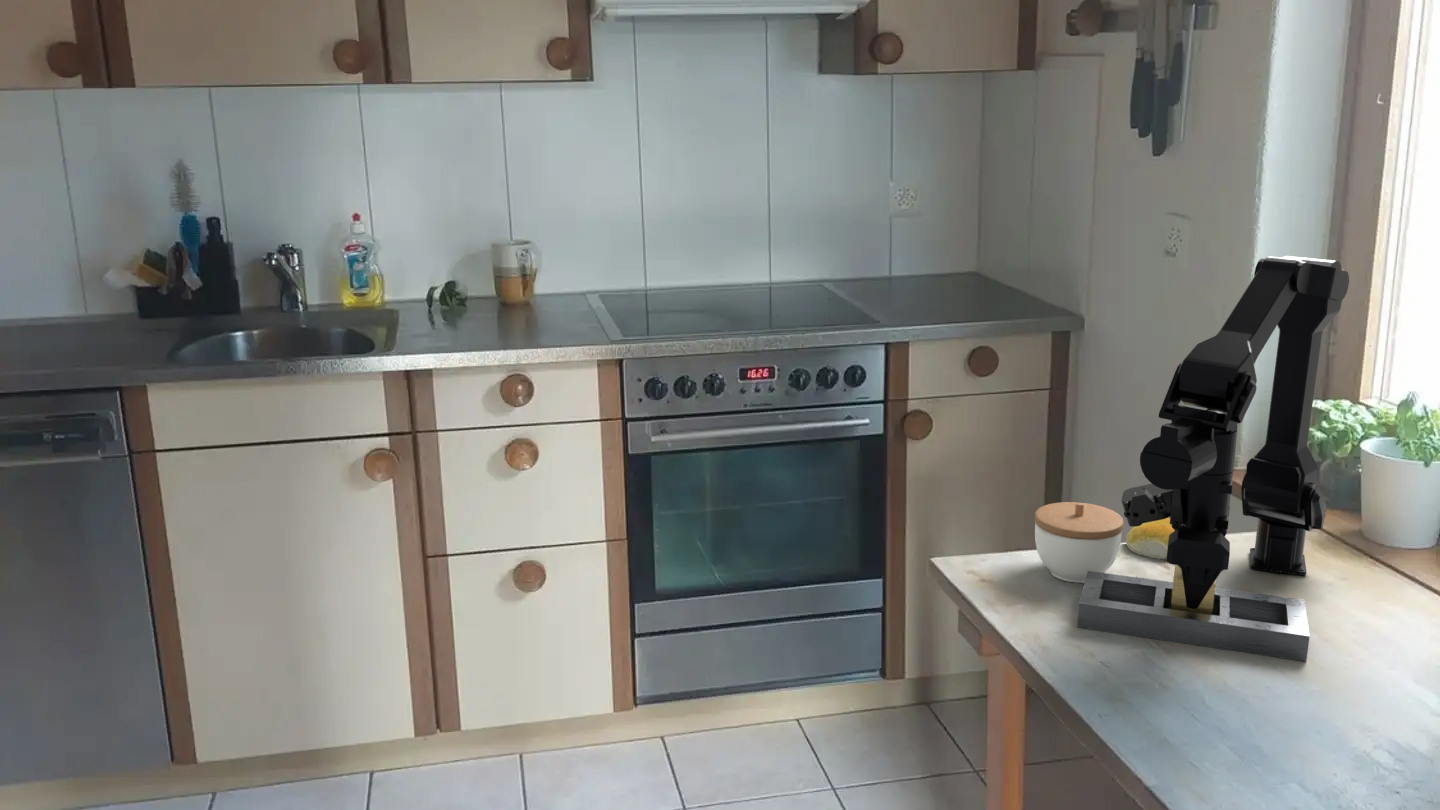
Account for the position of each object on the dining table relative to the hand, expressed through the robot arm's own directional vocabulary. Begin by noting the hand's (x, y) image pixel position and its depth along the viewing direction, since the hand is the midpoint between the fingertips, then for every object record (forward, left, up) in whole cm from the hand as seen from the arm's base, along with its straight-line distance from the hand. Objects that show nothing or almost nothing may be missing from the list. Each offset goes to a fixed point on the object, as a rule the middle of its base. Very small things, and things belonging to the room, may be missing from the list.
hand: (1192, 596), depth 142 cm
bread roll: (-24, -4, -4) cm, 24 cm away
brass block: (0, 0, -4) cm, 4 cm away
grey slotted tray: (0, 0, -4) cm, 4 cm away
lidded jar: (-11, -14, -4) cm, 18 cm away
